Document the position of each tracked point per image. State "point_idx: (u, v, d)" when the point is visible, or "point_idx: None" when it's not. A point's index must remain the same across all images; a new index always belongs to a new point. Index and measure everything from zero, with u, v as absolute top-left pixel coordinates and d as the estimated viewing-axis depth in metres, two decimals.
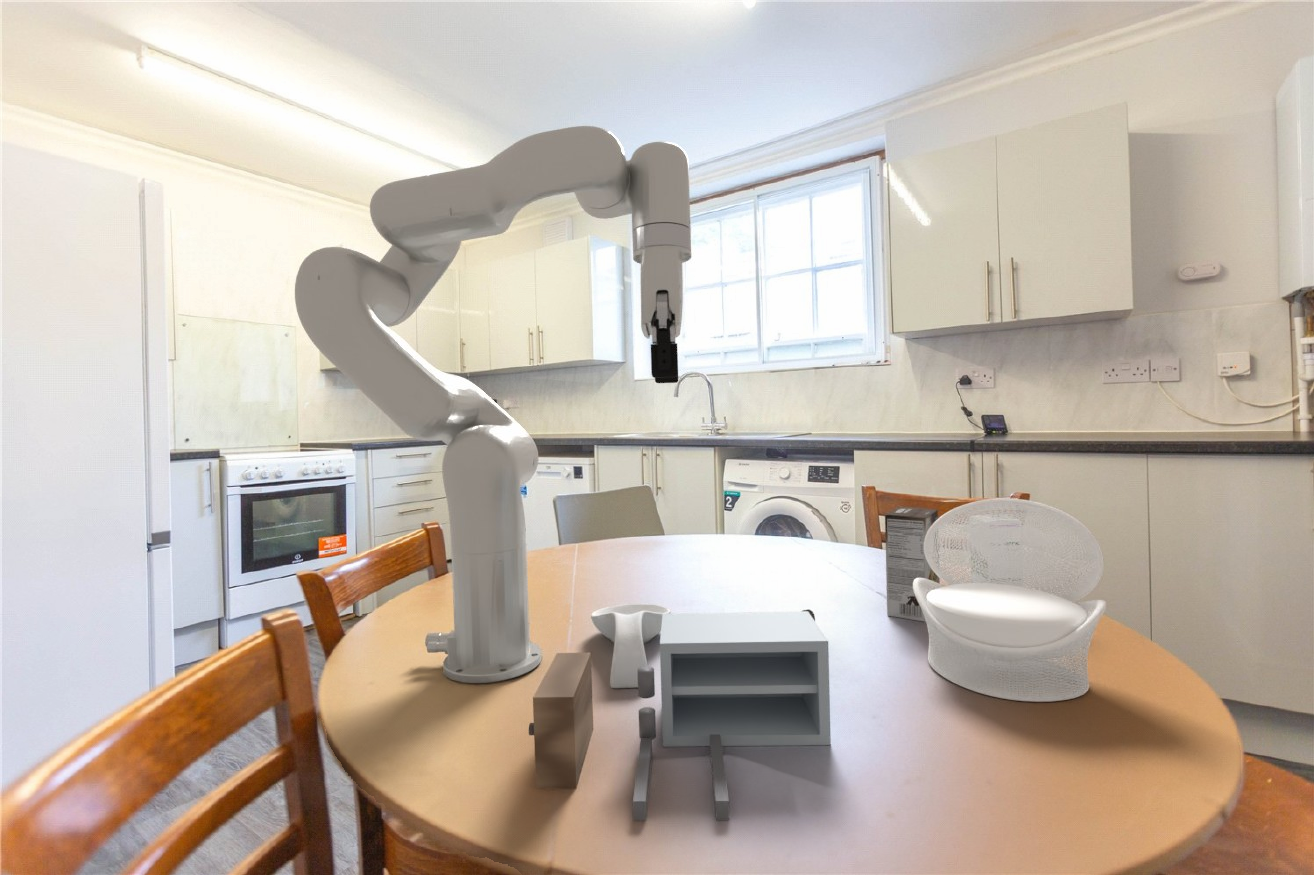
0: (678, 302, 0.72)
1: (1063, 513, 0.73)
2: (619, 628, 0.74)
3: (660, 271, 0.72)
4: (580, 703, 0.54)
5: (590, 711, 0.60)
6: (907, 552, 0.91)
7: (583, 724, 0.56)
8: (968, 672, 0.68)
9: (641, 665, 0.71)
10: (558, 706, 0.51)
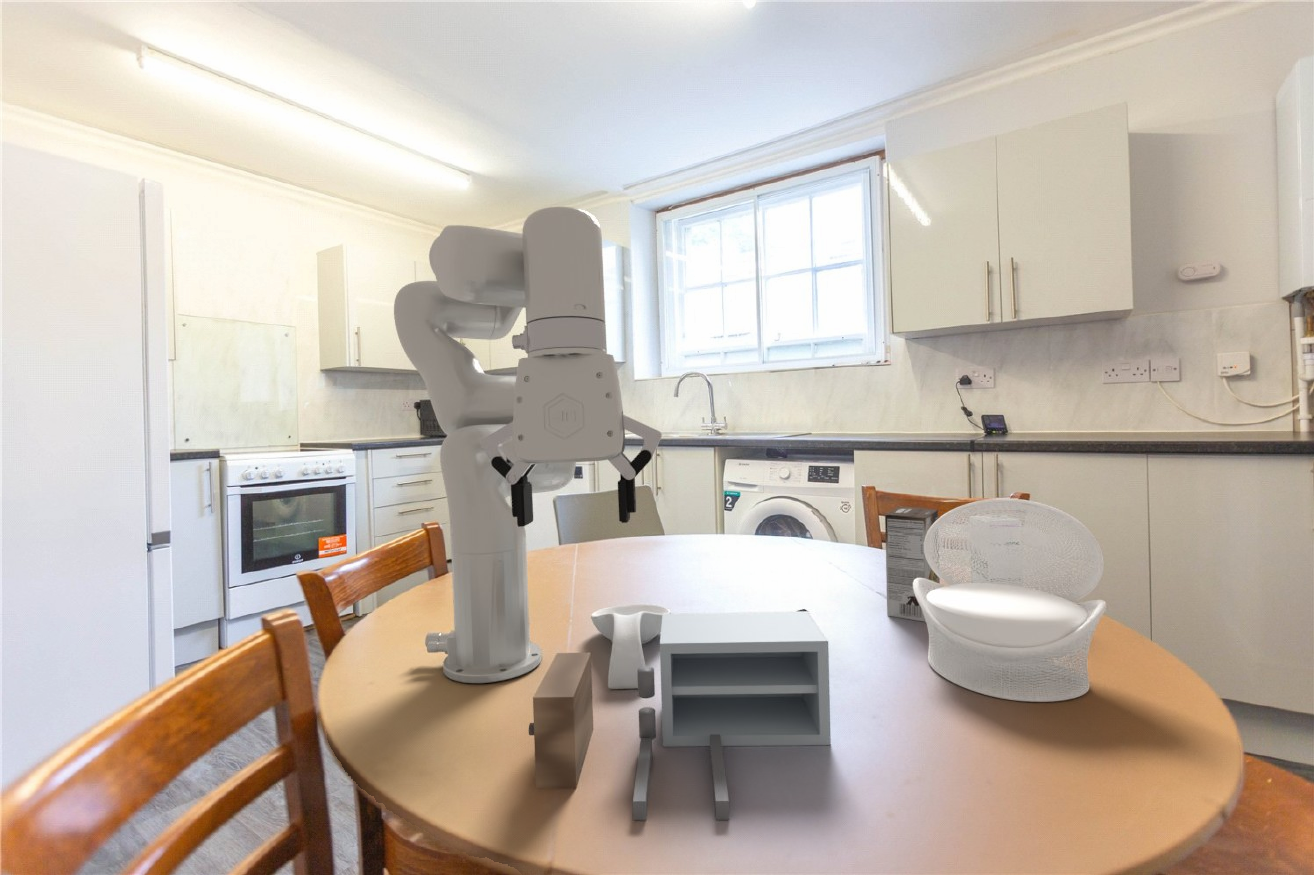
0: None
1: (1063, 513, 0.73)
2: (617, 629, 0.73)
3: (619, 387, 0.57)
4: (580, 703, 0.54)
5: (590, 711, 0.60)
6: (908, 552, 0.91)
7: (583, 724, 0.56)
8: (968, 672, 0.68)
9: (639, 666, 0.70)
10: (558, 706, 0.51)
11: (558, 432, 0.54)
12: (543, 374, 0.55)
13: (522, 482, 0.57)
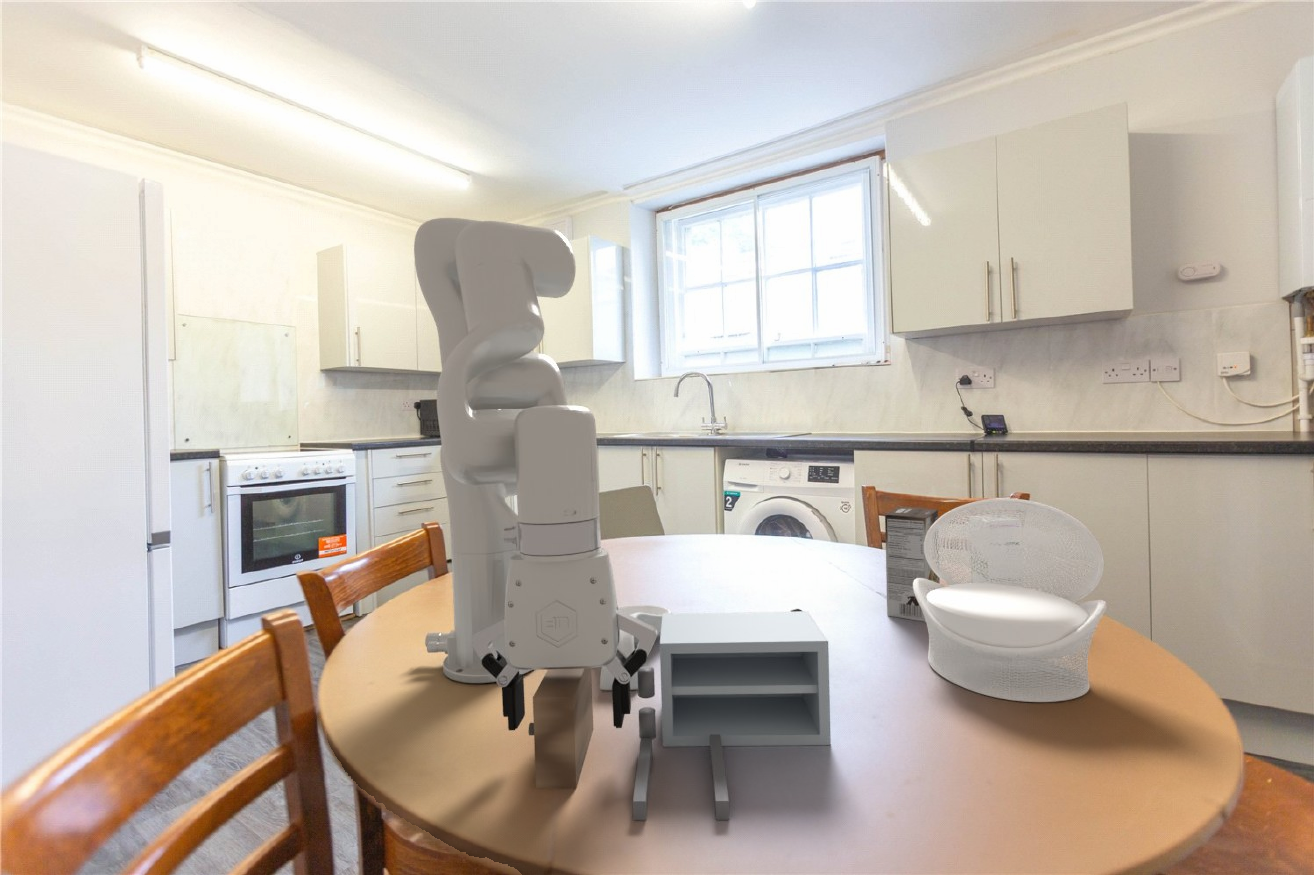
0: None
1: (1063, 513, 0.73)
2: None
3: (614, 584, 0.55)
4: (580, 703, 0.54)
5: (590, 711, 0.60)
6: (907, 552, 0.91)
7: (583, 724, 0.56)
8: (968, 672, 0.67)
9: None
10: (558, 706, 0.51)
11: (551, 639, 0.53)
12: (535, 578, 0.53)
13: (513, 682, 0.55)
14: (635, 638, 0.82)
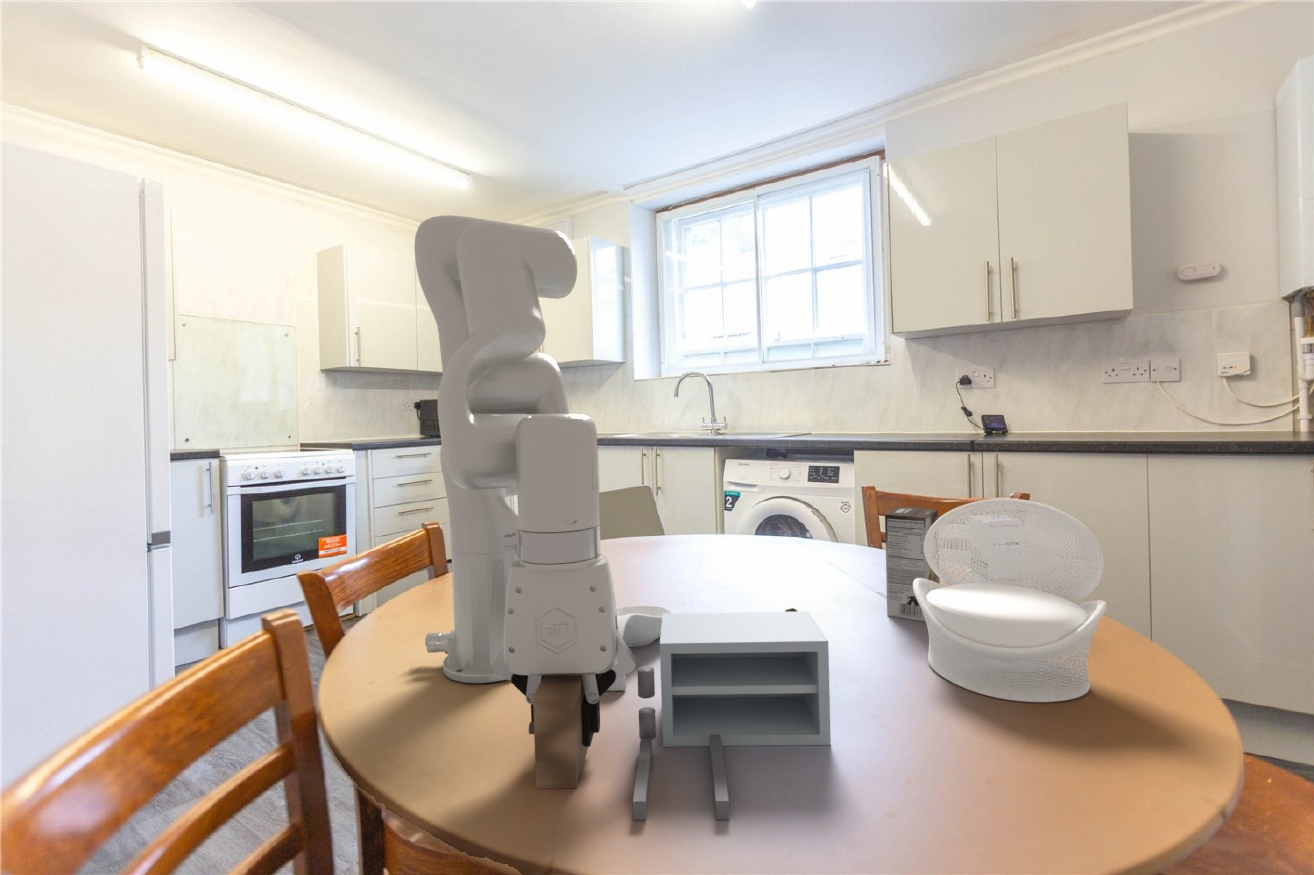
0: None
1: (1063, 513, 0.73)
2: None
3: (613, 591, 0.56)
4: (580, 702, 0.54)
5: None
6: (907, 552, 0.91)
7: None
8: (968, 672, 0.67)
9: None
10: (558, 705, 0.51)
11: (550, 646, 0.53)
12: (535, 586, 0.53)
13: None
14: (633, 639, 0.82)
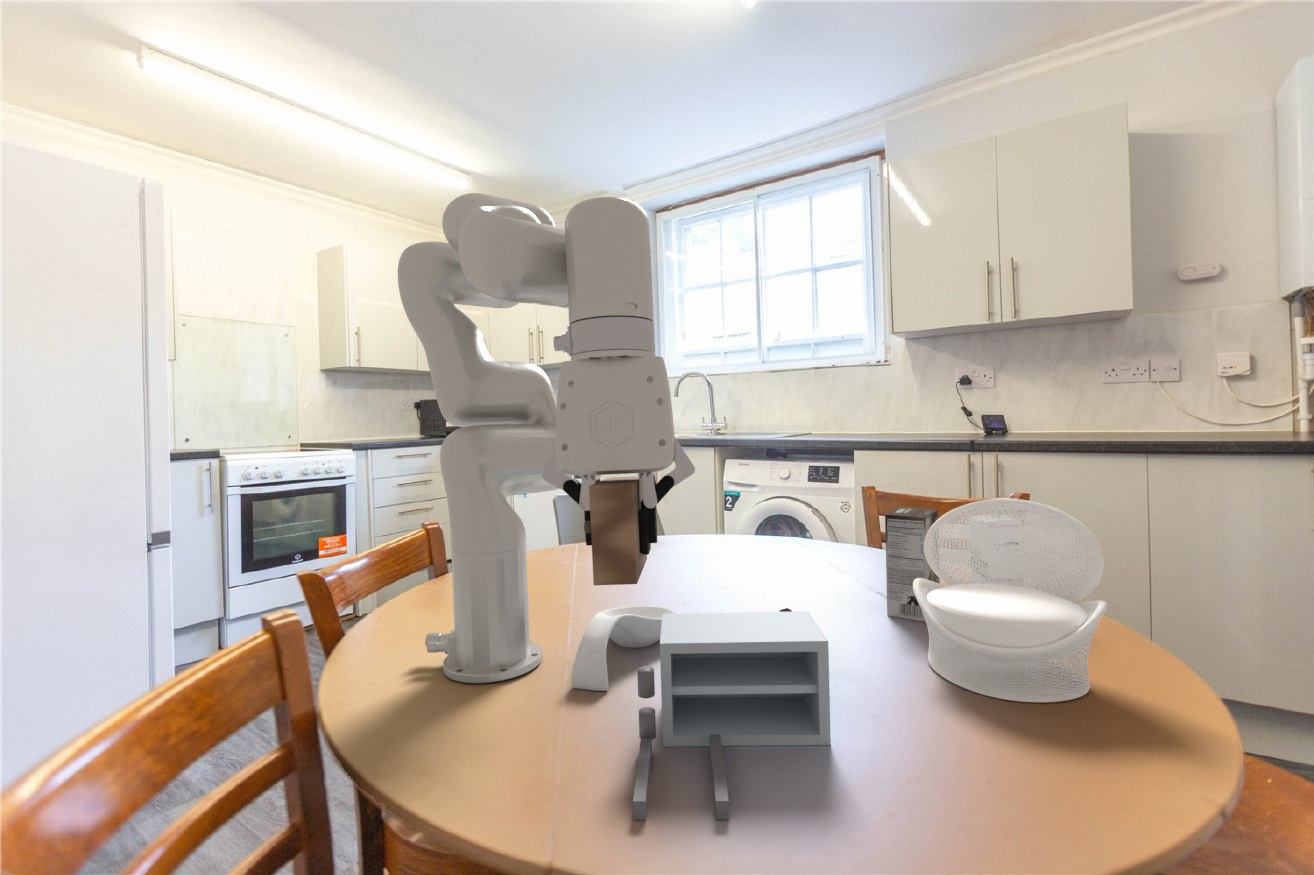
0: None
1: (1063, 513, 0.73)
2: (589, 629, 0.74)
3: None
4: (637, 505, 0.51)
5: None
6: (908, 552, 0.91)
7: None
8: (968, 673, 0.67)
9: (599, 669, 0.70)
10: (616, 495, 0.48)
11: (605, 441, 0.50)
12: (589, 378, 0.50)
13: None
14: (631, 639, 0.82)
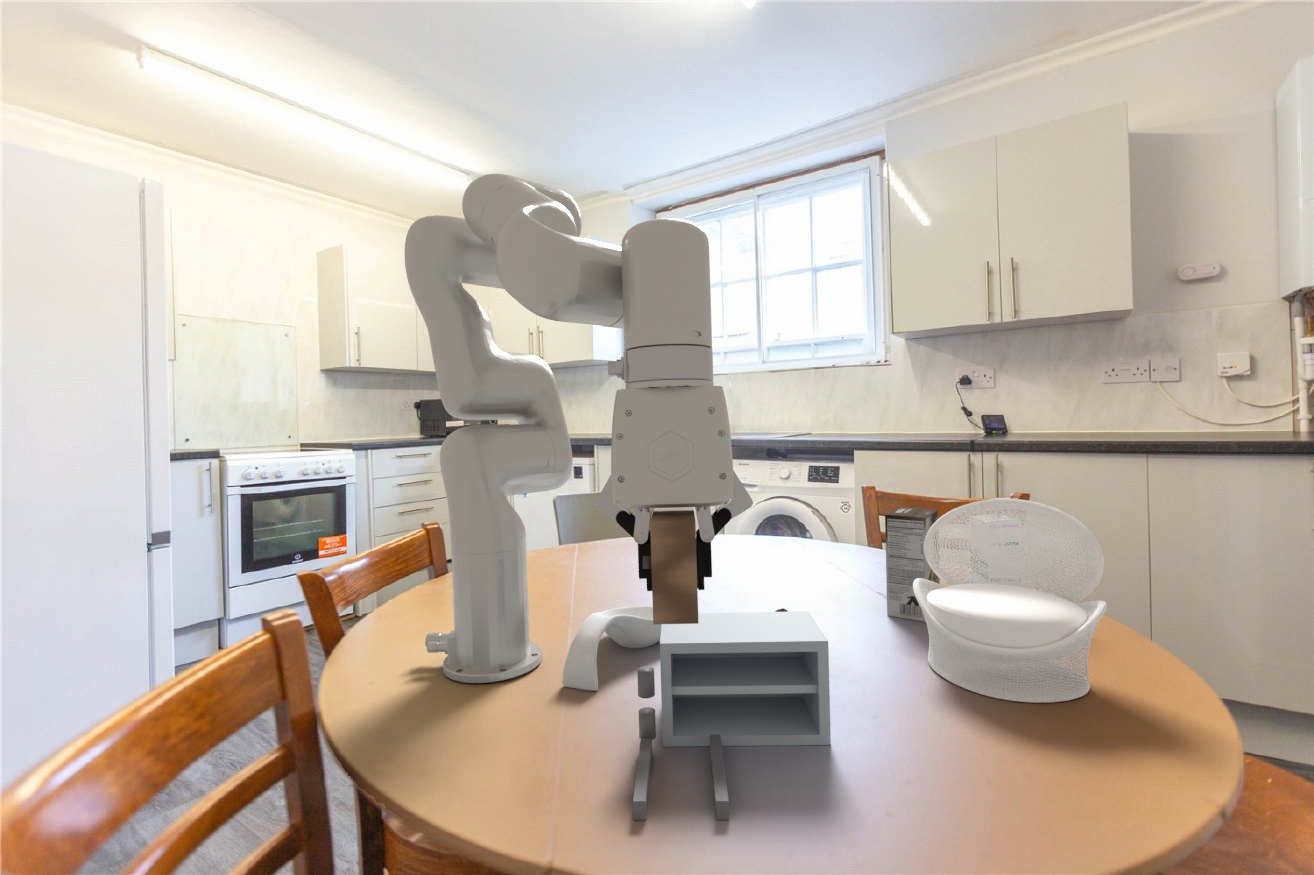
0: None
1: (1063, 513, 0.73)
2: (582, 628, 0.74)
3: None
4: None
5: None
6: (907, 552, 0.91)
7: None
8: (968, 673, 0.67)
9: (589, 668, 0.70)
10: (678, 531, 0.46)
11: (664, 474, 0.48)
12: (647, 408, 0.48)
13: None
14: (629, 640, 0.81)
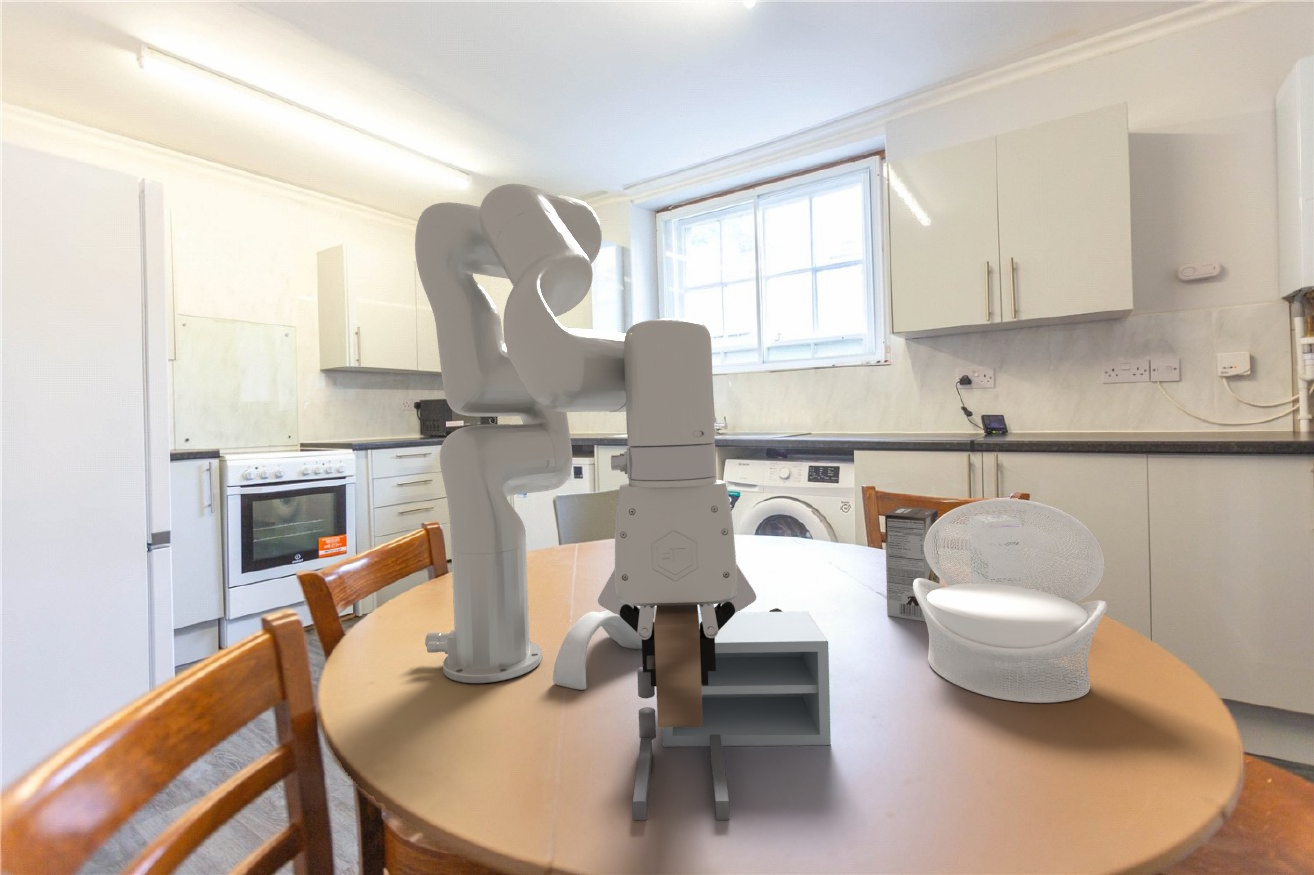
0: None
1: (1064, 513, 0.73)
2: (574, 627, 0.74)
3: None
4: None
5: None
6: (907, 552, 0.91)
7: None
8: (968, 673, 0.67)
9: (578, 667, 0.71)
10: (682, 635, 0.46)
11: (667, 572, 0.48)
12: (651, 507, 0.49)
13: None
14: (627, 640, 0.81)
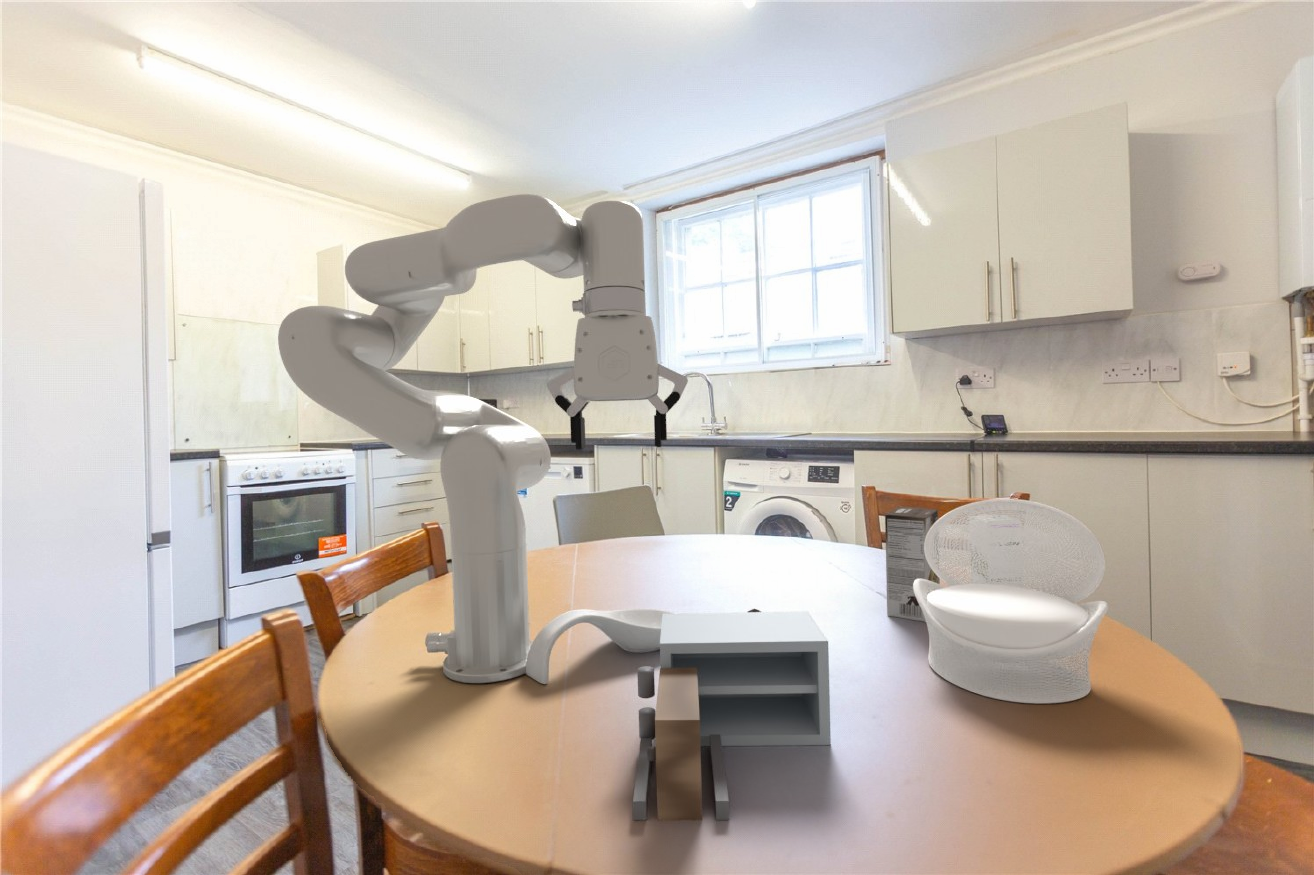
0: None
1: (1064, 514, 0.73)
2: (551, 622, 0.76)
3: None
4: None
5: None
6: (908, 552, 0.91)
7: None
8: (969, 674, 0.67)
9: (540, 662, 0.72)
10: (682, 730, 0.47)
11: (609, 375, 0.71)
12: (598, 330, 0.71)
13: (579, 415, 0.73)
14: (618, 642, 0.81)
